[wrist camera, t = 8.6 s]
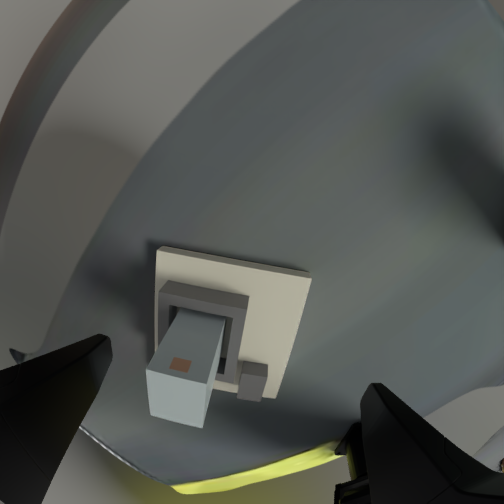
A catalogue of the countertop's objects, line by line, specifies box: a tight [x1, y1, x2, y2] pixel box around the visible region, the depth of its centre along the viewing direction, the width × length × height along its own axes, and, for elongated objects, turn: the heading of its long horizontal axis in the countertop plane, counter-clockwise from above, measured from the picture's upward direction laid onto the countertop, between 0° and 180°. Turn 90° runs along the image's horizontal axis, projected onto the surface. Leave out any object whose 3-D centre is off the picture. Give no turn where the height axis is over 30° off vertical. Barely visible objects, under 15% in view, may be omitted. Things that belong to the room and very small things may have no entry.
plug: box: [146, 307, 227, 428], centre depth 17 cm, size 4×3×8 cm
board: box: [155, 246, 312, 402], centre depth 21 cm, size 12×11×3 cm
